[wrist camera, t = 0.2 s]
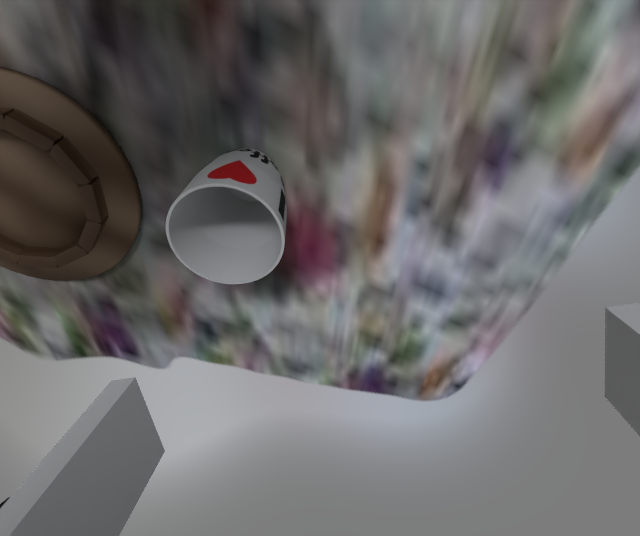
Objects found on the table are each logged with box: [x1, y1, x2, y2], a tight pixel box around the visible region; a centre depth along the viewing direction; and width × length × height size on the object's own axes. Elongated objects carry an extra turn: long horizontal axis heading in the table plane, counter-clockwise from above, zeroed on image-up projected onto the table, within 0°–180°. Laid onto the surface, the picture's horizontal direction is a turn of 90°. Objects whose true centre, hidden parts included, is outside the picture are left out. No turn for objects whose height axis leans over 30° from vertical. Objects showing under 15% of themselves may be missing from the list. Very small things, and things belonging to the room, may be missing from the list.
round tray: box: [0, 67, 142, 280], centre depth 38 cm, size 20×20×2 cm
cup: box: [166, 148, 287, 284], centre depth 34 cm, size 8×8×10 cm
